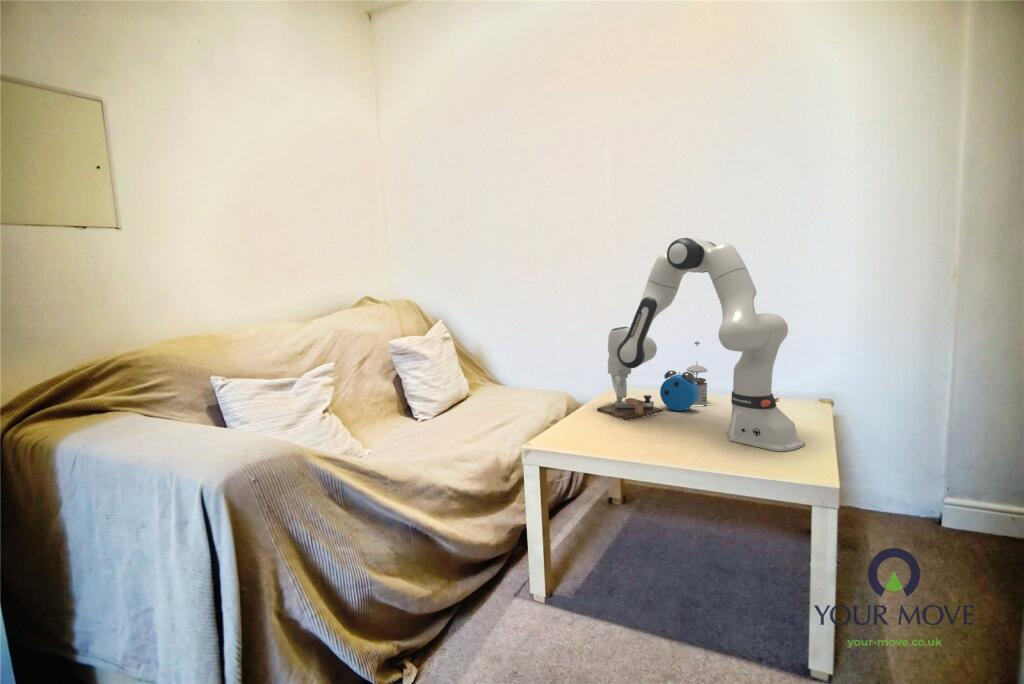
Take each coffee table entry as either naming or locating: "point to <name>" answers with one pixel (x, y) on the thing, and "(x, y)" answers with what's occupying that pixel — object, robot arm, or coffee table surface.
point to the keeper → (636, 404)
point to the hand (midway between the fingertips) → (619, 403)
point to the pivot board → (627, 412)
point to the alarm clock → (679, 391)
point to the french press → (699, 383)
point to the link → (623, 404)
